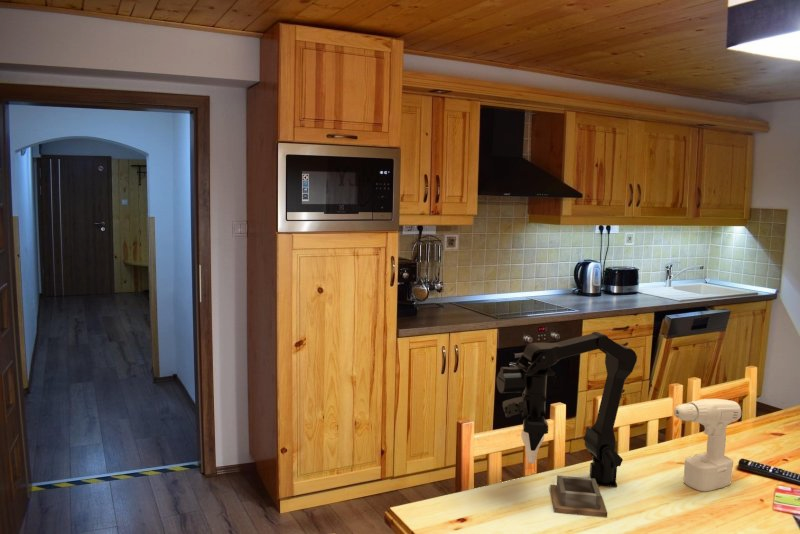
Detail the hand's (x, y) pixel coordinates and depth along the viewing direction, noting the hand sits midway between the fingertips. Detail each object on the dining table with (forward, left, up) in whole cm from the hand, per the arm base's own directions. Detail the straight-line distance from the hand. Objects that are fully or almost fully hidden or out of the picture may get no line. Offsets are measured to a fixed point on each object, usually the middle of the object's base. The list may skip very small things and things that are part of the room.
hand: (532, 445), depth 176 cm
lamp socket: (-12, +6, -12) cm, 18 cm away
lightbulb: (0, 0, -5) cm, 5 cm away
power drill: (-48, -11, -12) cm, 51 cm away
